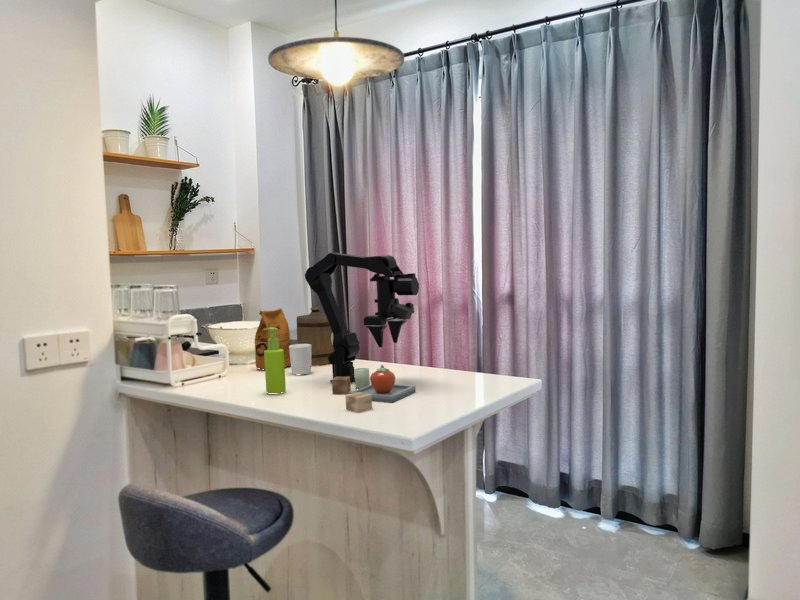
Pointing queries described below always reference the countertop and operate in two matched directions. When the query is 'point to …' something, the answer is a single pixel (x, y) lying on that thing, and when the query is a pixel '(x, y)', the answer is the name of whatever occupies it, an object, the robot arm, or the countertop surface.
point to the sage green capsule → (361, 377)
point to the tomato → (382, 380)
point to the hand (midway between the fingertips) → (388, 344)
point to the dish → (389, 397)
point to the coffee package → (262, 336)
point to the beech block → (358, 402)
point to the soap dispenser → (274, 364)
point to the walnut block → (341, 385)
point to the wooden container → (316, 335)
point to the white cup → (300, 358)
